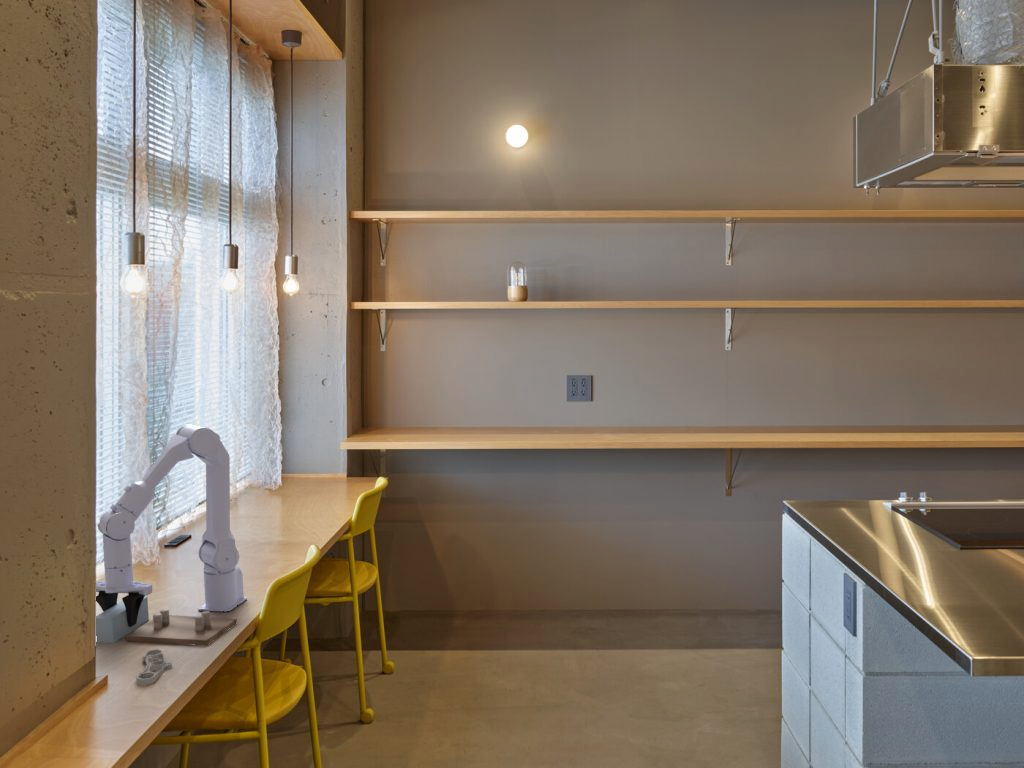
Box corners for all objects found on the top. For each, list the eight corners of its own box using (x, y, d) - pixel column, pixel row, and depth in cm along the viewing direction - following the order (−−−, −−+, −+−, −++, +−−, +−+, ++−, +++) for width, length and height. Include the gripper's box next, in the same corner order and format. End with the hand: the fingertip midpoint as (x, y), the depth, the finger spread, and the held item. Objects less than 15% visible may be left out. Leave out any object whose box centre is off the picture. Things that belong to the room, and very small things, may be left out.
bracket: (115, 679, 173) (148, 647, 188) (116, 689, 174) (149, 656, 189) (154, 678, 173) (184, 646, 188) (155, 688, 173) (185, 655, 188)
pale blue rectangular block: (131, 619, 210) (130, 596, 209) (148, 620, 209) (147, 596, 209) (95, 642, 196) (93, 617, 196) (113, 643, 196) (111, 618, 195)
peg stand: (160, 619, 209) (159, 601, 209) (236, 623, 205) (235, 605, 205) (126, 641, 196) (124, 622, 196) (206, 645, 193) (205, 626, 192)
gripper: (77, 569, 199) (81, 629, 200) (137, 571, 196) (141, 632, 197) (98, 559, 206) (101, 618, 207) (156, 562, 203) (159, 621, 204)
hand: (122, 624), depth 203 cm, fingers closed on pale blue rectangular block, 4 cm apart
